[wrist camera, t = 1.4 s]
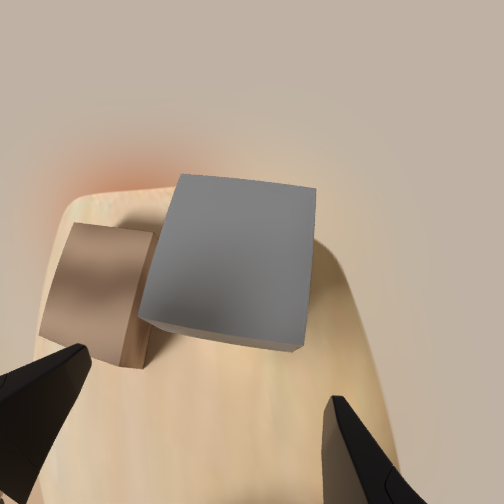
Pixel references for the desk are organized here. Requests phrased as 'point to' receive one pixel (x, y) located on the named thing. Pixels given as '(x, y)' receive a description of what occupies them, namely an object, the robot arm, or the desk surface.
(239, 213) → the gray block
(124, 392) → the desk surface
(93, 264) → the walnut block
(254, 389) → the desk surface
